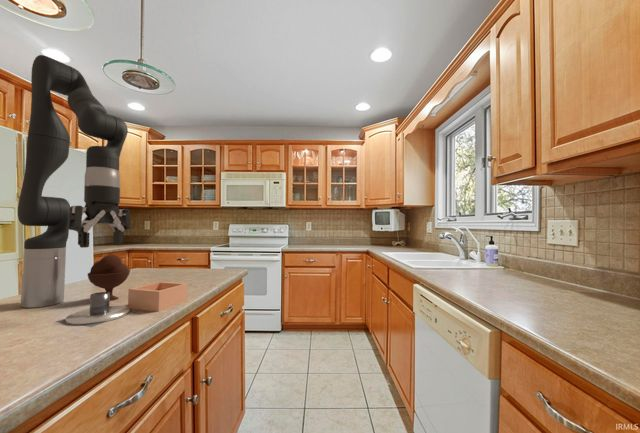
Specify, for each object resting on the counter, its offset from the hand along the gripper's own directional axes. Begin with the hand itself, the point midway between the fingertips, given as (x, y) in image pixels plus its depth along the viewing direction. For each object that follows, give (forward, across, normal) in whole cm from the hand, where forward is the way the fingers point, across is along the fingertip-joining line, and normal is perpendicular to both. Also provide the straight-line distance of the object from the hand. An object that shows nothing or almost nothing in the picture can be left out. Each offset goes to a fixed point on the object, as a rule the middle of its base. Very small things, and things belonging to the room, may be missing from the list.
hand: (101, 246), depth 73 cm
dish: (+19, -12, +6) cm, 24 cm away
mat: (+19, 0, 0) cm, 19 cm away
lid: (+18, 0, 0) cm, 18 cm away
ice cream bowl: (+19, -13, -14) cm, 26 cm away
